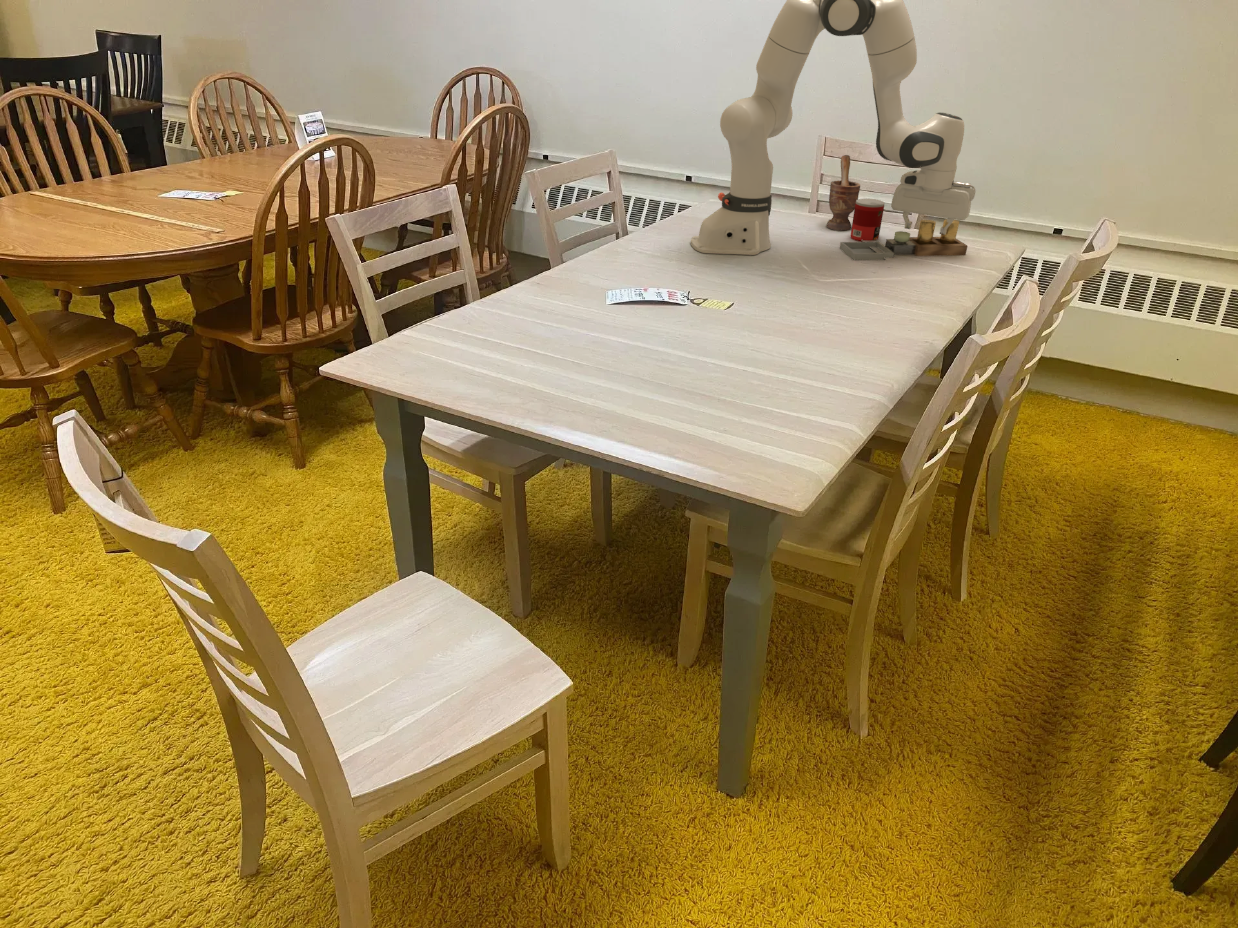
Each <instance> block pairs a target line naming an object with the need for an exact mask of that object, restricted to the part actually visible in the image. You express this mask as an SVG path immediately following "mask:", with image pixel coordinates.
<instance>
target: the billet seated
mask: <svg viewBox="0 0 1238 928" xmlns="http://www.w3.org/2000/svg"><path fill="white" fill-rule="evenodd" d="M948 223H949V222H947V218H945V219H944V220H943V224H942V226H943V227H945V226H946V225H947V224H948ZM959 226H960V220H956V219H954V221H953V222H952V223H951V225H950V226H949V227H948V228H947V232H946V234H945V235H942V234H940V236H939V237H940V241H939V242H940V243H941V244H955V240H956V239H957V234H958V231H959V230H958V229H959Z"/></svg>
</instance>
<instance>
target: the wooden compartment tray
mask: <svg viewBox="0 0 1238 928" xmlns="http://www.w3.org/2000/svg"><path fill="white" fill-rule="evenodd" d="M940 237H941V236H933V239H932V244H926V245H919V244H918V243H916V241H917V236H912V237H911V236H910V238H909V241H911V242H912V243H914V244H915V245H916V248H915V253H914V254H913V255H914V256H916V257H931V256H932V257H933V256H935V257H936V256H966V255H967V254H966V253H967V251H968V245H967V244H965V243H964V242H962V241H960V240H959V239H957V238H956V240H955V244H941V243H940V242H939V241H940Z"/></svg>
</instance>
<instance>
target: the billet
mask: <svg viewBox="0 0 1238 928" xmlns="http://www.w3.org/2000/svg"><path fill="white" fill-rule="evenodd" d="M936 224H937V221H935V220H933V219H921V220H920V222H919V226H918V227H919V228H918V232H917V236H916V237H917V241H916V243H918V244H919V245H926V244H932V239H933V237H934V234H935V228H936Z"/></svg>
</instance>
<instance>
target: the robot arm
mask: <svg viewBox="0 0 1238 928" xmlns="http://www.w3.org/2000/svg"><path fill="white" fill-rule="evenodd" d="M823 30H825V31H827V33H829V34H831V35H832V36H836V37H849V36H850V37H851V36H862V37H863V39H864V44H865V48H866V53H867V54H866V55H867V57H868V62H869V67H870V72H871V78H872V87H873V88H872V90H873V96H874V97H873V98H874V103H875V111H876V116H877V117H876V118H877V133H876V140H875V147H876V150H877V153H878V154H879V155H878V156H880V157H881V158H883V159H884V160H886V161H890V162H894V163H895V164H897V165H900V166H903V167H905V168H909V169H917V168H918V169H917V170H911V171H907V172H904V174H902V175H901V177H900V181H899V183H900V184H899V185H897V187H896V188H895V191H894V193H893V196H892V200H891V203H890V206H891V207H890V208H891V209H892V211H897V212H898V211H899V212H902V217H903V221H904V229H906V230H910V229H912V224H913V221H910V218H909V216H910V214H917V215H924V216H929V217H930V216H931V217H937V218H943V219H947V222H949V223H948V224H947V225H946V226H945V227H943V225H942V226H941V227H940V229H939V235H941V234H942V235H945V234H946V232H947V228H948V227H949V226H950V225H951V223H952V222H953V221H954V220H957V221H965V220H966V219H968V218H969V216H970V213H971V207H972V206H971V205H972V201H973V200H974V199H975V196H976V187H975V186H973V185H972V184H971V183H968V182H966V183H965V182H961V181H960V182H959V181H955V177H956V173H957V167H958V166H957V163H958V157H959V155H960V153H961V151H962V146H963V141H964V135H965V134H964V133H965V121H964V120H963V118H962V117H960V116H957V115H954V114H951V113H947V112H935V114H934V115H933V116H932V117H931V118H929V119H928V120H926V121H924V122H922V123H919V124H917V125H912V124H910V123H909V121H907V120H906V118H905V116H904V113H903V105H902V98H901V97H902V96H901V91H900V89H901V83H902V81H904V80H905V79H906V78H908V77H909V76H910V74H911V73H912V72H913V70H914V69H915V67H916V65H917V58H918V53H917V52H918V51H917V42H916V37H915V33H914V28H913V25H912V21H911V17H910V15H909V12H908V9H907V7H906V4H905V2H904V0H786V1H785V3H784V4H783V6H782V8H781V10H780V11H779V13H778V15H777V16H776V18H775V21H774V22H773V24H772V26H771V28H770V30H769V33H768V36H767V38H766V40H765V43H764V46H763V48H762V51H761V53H760V55H759V57H758V60H757V63H756V67H755V70H756V74H757V80H756V87H755V90H754V92H753V94H752V95H751V96H749V97H745V98H740V99H737V100H735V101H734V102H732V103H731V104H730V105H728V106H727V107H726V108H725V109H724V110H723V112H722V113H721V117H720V121H719V123H720V124H719V125H720V132H721V133H722V135H723V137H724V138H725V139H726V141H727V143H728V149H729V152H730V159H731V171H730V186H729V187H730V188H729V189H730V190H729V192H728V193H727V194H725V193H724V192H719V193H718V195H717V198H718V200H719V201H720V202H721V207H720V208H718V209H717V210H716V211H714V212H713V213H712V214H710V215H709V216H707V217H705V218H704V219H703V220H702V223H701V224H700V228H699V232H698V235H693V236H692V237H691V238H690V245H691V247H692V249H694V250H695V251H697V252H699V253H702V254H720V255H745V256H746V255H748V256H749V255H750V256H755V255H758V254H759V253H761V252H764V251H768V250H769V249H771V247H772V243H771V237H770V223H769V221H770V215H771V211H772V205H773V204H772V201H773V200H772V198H773V195H772V194H771V192H772V182H773V172H774V165H773V162H772V161H771V159H770V157H769V154H768V147H767V146H768V144H767V143H768V142H767V141H768V139H771V138H774V137H776V136H778V135H780V134H781V133H783V132H784V131H785V130H787V128H788V127H789V126H790V123H791V121H792V120H793V119H792V118H793V107H792V101H793V97H794V93H795V89H796V86H797V83H798V80H799V78H800V75H801V73H802V71H803V69H804V66H805V63H806V62H807V60H808V57H809V55H810V52H811V50H812V48H813V46H814V43H815V41H816V39H818V36H819V34H820V33H821V32H823ZM919 168H920V169H919Z"/></svg>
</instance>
